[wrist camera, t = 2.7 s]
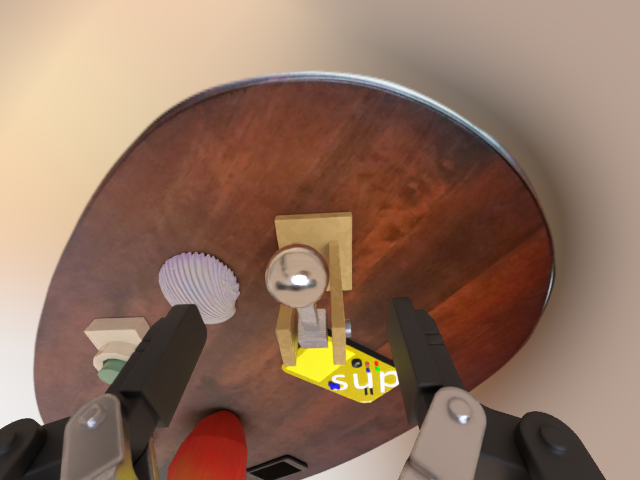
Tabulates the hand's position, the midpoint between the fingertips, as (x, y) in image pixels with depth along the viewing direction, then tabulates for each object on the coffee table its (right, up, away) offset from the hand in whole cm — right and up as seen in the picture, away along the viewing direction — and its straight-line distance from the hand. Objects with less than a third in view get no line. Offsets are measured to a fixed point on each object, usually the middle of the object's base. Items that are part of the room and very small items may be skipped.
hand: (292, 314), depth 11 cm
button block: (-26, -12, +29) cm, 41 cm away
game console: (+5, -17, +31) cm, 36 cm away
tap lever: (0, 0, +7) cm, 7 cm away
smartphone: (-9, -51, +53) cm, 74 cm away
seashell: (-14, -2, +23) cm, 27 cm away
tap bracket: (+1, +2, +20) cm, 20 cm away
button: (-26, -14, +26) cm, 40 cm away
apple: (-17, -30, +40) cm, 53 cm away
